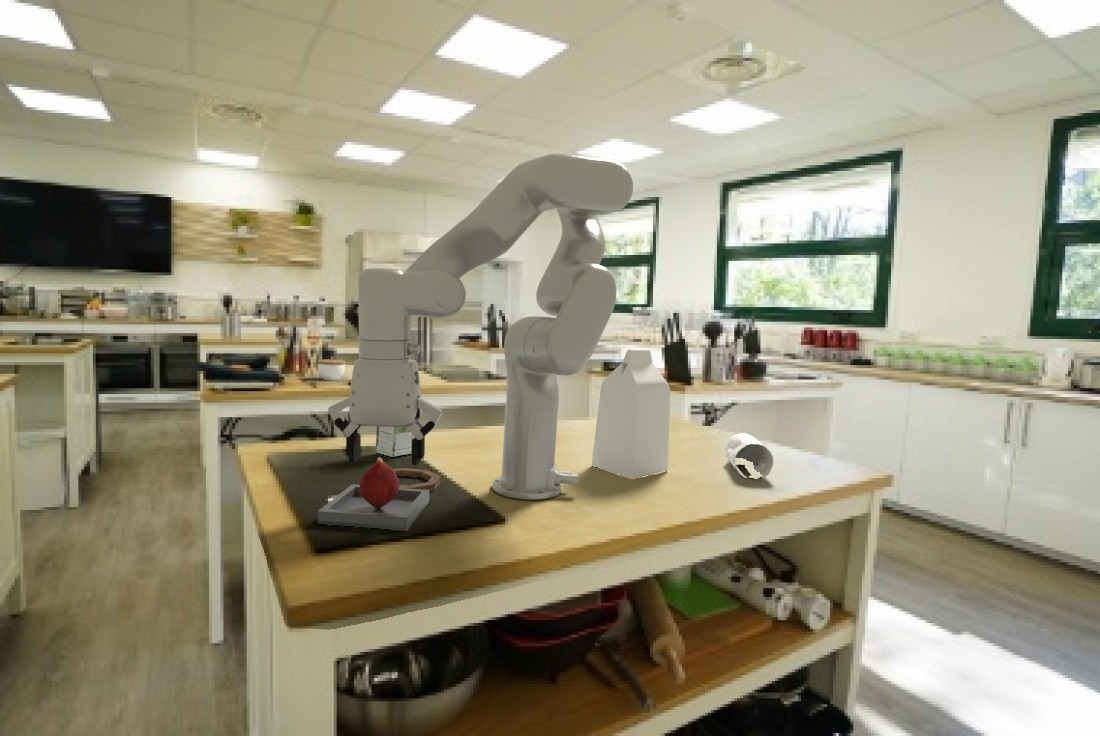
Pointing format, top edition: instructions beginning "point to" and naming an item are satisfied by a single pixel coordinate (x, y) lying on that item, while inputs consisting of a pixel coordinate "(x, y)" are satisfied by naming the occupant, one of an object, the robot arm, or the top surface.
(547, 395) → the robot arm
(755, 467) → the tipped white cup
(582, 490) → the top surface
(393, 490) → the onion
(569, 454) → the top surface
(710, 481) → the top surface
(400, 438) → the syrup box
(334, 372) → the lidded jar
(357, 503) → the dish
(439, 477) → the ring
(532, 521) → the top surface
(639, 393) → the milk
